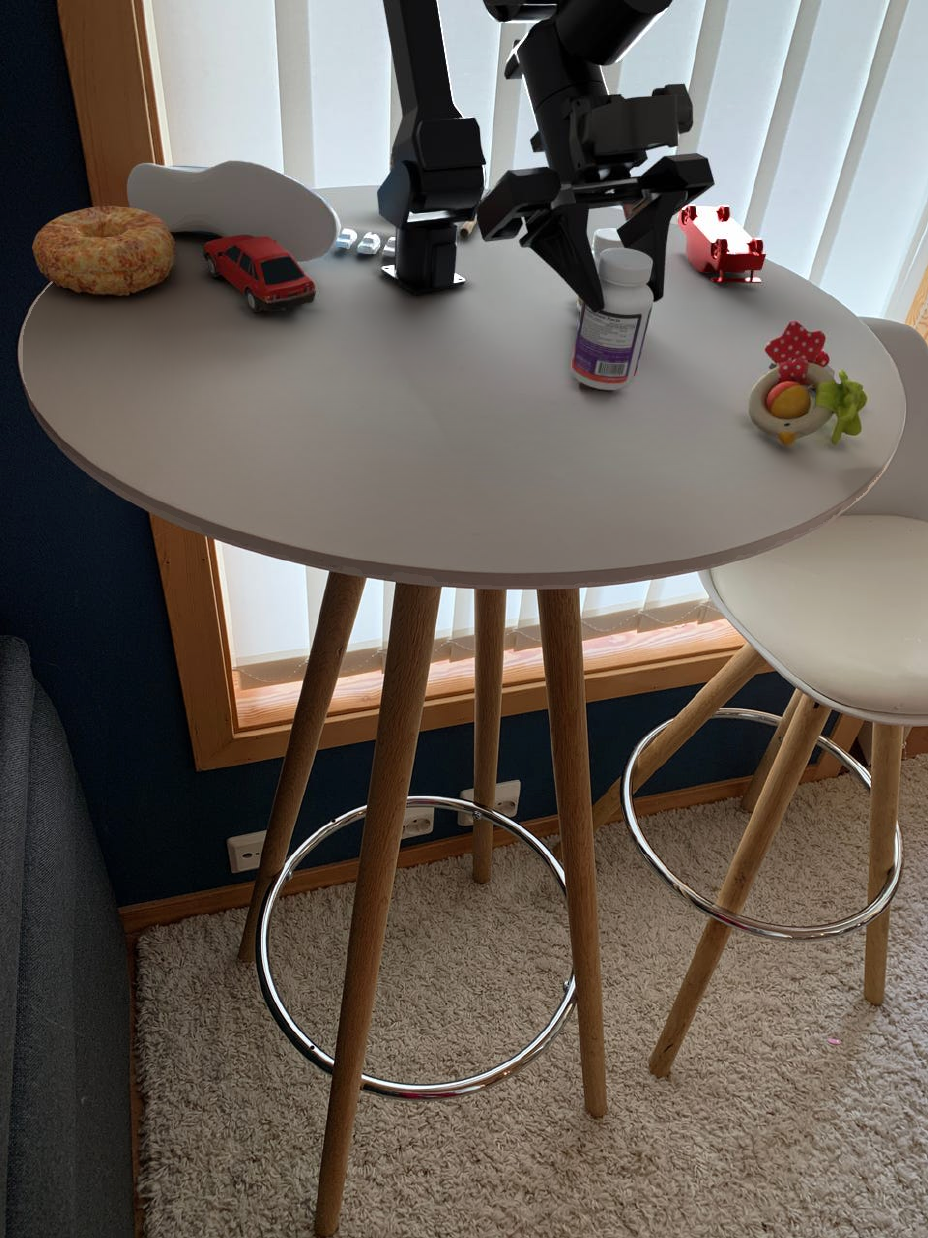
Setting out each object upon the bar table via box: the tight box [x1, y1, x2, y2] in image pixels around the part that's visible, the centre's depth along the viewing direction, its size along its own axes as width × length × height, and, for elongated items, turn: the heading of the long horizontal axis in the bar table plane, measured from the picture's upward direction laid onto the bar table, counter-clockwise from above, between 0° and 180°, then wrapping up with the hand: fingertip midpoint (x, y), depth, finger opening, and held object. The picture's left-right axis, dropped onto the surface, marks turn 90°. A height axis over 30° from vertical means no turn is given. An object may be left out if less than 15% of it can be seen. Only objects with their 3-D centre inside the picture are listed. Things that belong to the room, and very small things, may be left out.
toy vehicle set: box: [334, 228, 395, 258], centre depth 101 cm, size 12×4×2 cm, turn 79°
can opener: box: [459, 213, 478, 238], centre depth 110 cm, size 9×2×1 cm, turn 174°
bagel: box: [31, 205, 177, 297], centre depth 90 cm, size 13×14×5 cm
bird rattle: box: [747, 319, 868, 447], centre depth 79 cm, size 6×11×9 cm
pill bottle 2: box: [570, 248, 654, 391], centre depth 73 cm, size 5×5×10 cm
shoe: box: [126, 159, 342, 263], centre depth 100 cm, size 9×23×12 cm
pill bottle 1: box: [576, 227, 624, 312], centre depth 93 cm, size 4×4×8 cm
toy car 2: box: [676, 203, 767, 284], centre depth 106 cm, size 14×6×5 cm, turn 10°
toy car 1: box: [202, 235, 317, 313], centre depth 90 cm, size 6×14×5 cm, turn 37°
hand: (628, 305), depth 71 cm, fingers closed on pill bottle 2, 5 cm apart
